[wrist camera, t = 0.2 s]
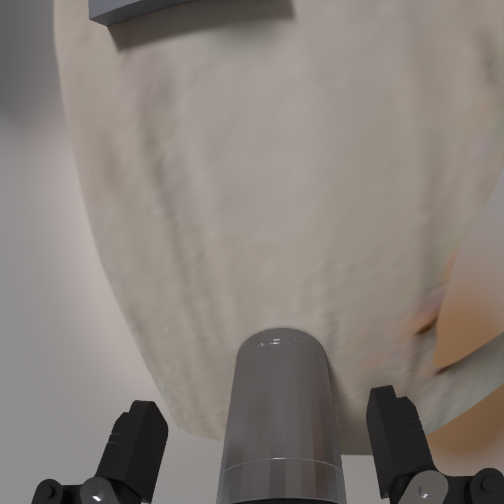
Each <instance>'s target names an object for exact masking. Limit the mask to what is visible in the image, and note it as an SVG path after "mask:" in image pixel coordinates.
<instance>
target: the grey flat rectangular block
mask: <svg viewBox="0 0 504 504" xmlns="http://www.w3.org/2000/svg"><path fill="white" fill-rule="evenodd" d="M192 1H196V0H89V19H90V20H92V21H95V22H97V23H100V24H102V25H104V26H109V25H112V24H115V23H118V22H120V21H123V20H126V19H129V18H132V17H135V16H139V15H142V14H145V13H148V12H152V11H155V10H159V9H163V8H166V7H170V6H174V5H178V4H183V3H187V2H192Z"/></svg>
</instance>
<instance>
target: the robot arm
mask: <svg viewBox="0 0 504 504" xmlns="http://www.w3.org/2000/svg"><path fill="white" fill-rule="evenodd" d="M366 418H367V427H368V431H369V436H370V441H371V446H372V451H373V456H374V462H375V467H376V472H377V478H378V484H379V489H380V496H381V499H384V498H389V499H390V504H504V476H503V474H502V473H501V472H500V471H498V470H497V469H494V468H485V469H483V470H481V471H479V472H478V473H477V474H476V475H475V476H456V477H452V476H447V475H444V474H442V473H441V472H439V471H438V470H437V468H436V467H435V465H434V463H433V460H432V457H431V453H430V450H429V447H428V444H427V440H426V437H425V434H424V431H423V430H422V425H421V422H420V420H419V416H418V413H417V410H416V407H415V405H414V404H413V403H412V402H411V401H410V400H409V399H408V398H407V397H406V396H405V397H401V398H396V395H395V391H394V389H393V387H392V385H388V386H382V387H377V388H372V389H371V391H370V396H369V402H368V407H367V414H366ZM111 433H112V434H111V435H110V437H109V440H108V443H107V445H106V448H105V450H104V453H103V456H102V458H101V461H100V464H99V466H98V469H97V472H96V474H95V476H94V477H92V478H89V479H88V480H86V481H85V482H84V483H83V484H81V485H61V484H60V483H58V482H57V481H55V480H53V479H46V480H44V481H42V482H41V483H40V484H39V485H38V486H37V489H36V492H35V494H34V497H33V500H32V503H31V504H141V502H143V503H148V504H151V501H152V497H153V493H154V489H155V485H156V481H157V477H158V472H159V469H160V465H161V461H162V456H163V452H164V449H165V445H166V441H167V438H168V425H167V422H166V421H165V419H164V417H163V415H162V414H161V412H160V410H159V409H158V407H157V406H156V404H155V402H153V401H139V400H135V401H134V402H133V403H132V405H131V408H130V411H129V413H128V412H124V413H123V414H122V415H121V416H120V417H119V418H118V419H117V420H116V422H115V424H114V427H113V429H112V432H111ZM216 504H347V502H346V493H345V484H344V476H343V469H342V461H341V454H340V446H339V439H338V432H337V425H336V418H335V412H334V405H333V399H332V393H331V386H330V380H329V374H328V368H327V362H326V356H325V352H324V349H323V347H322V346H321V344H320V343H319V342H318V341H317V340H316V339H315V338H314V337H312V336H311V335H309V334H307V333H305V332H302V331H299V330H295V329H289V328H277V329H270V330H266V331H263V332H260V333H257V334H256V335H254V336H252V337H250V338H249V339H248V340H247V341H245V342H244V343H243V345H242V346H241V347H240V349H239V351H238V354H237V358H236V365H235V372H234V379H233V385H232V392H231V399H230V406H229V413H228V420H227V427H226V434H225V441H224V448H223V455H222V462H221V469H220V476H219V485H218V492H217V499H216Z"/></svg>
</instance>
